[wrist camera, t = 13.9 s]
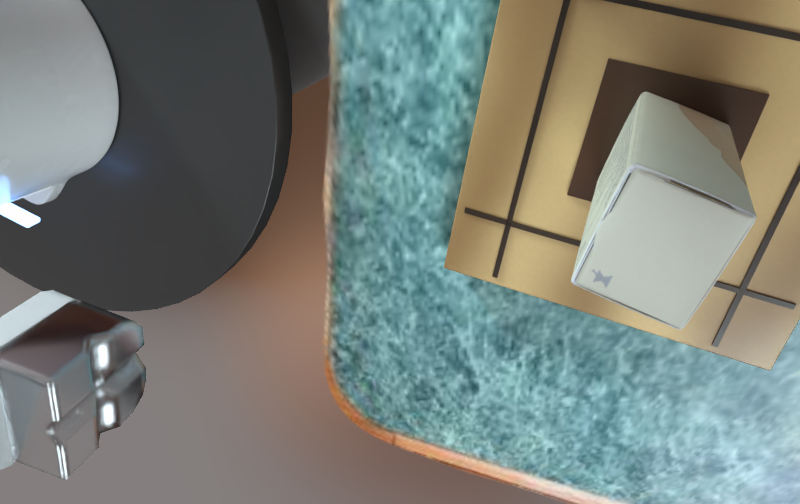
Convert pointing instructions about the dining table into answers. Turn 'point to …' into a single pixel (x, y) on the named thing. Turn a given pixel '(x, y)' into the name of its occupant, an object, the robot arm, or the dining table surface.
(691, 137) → the box
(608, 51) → the board
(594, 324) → the dining table surface
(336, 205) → the dining table surface
